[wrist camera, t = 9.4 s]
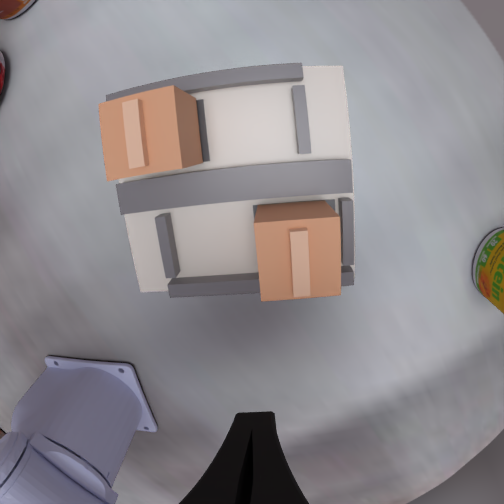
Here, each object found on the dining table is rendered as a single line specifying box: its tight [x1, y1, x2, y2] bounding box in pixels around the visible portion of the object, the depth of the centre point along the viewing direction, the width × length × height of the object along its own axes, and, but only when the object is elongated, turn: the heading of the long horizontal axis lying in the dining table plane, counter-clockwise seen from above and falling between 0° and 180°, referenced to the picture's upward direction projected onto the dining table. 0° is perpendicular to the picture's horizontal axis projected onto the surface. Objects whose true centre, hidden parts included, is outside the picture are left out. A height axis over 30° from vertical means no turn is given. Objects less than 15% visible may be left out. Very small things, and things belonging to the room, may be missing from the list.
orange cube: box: [254, 200, 341, 301], centre depth 15 cm, size 4×4×4 cm
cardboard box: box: [99, 85, 203, 181], centre depth 14 cm, size 4×4×4 cm
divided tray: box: [106, 63, 355, 297], centre depth 17 cm, size 13×12×2 cm
